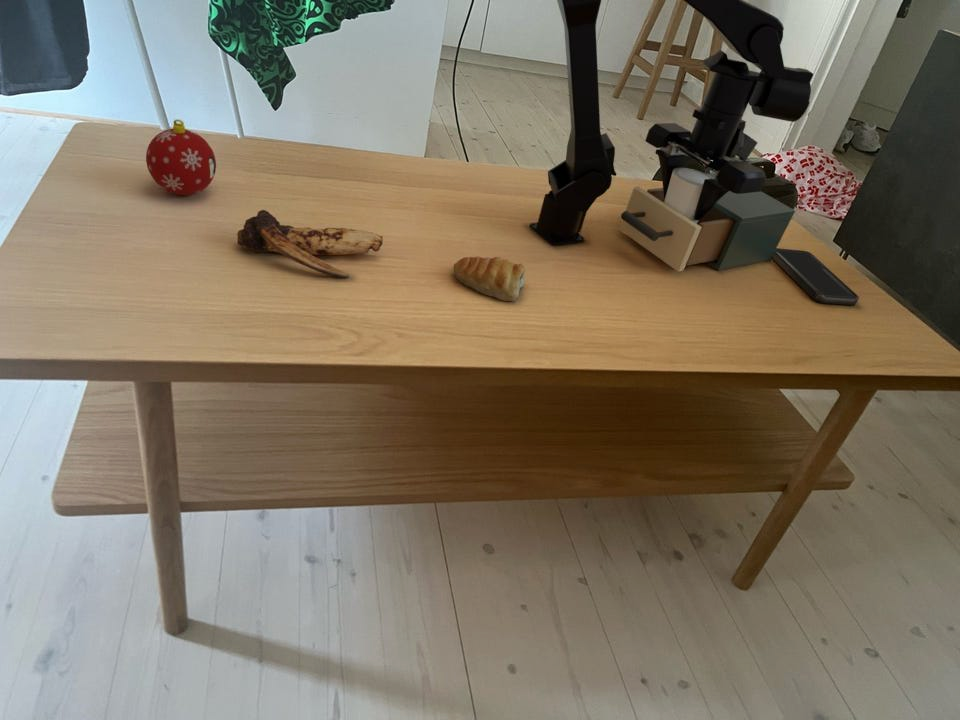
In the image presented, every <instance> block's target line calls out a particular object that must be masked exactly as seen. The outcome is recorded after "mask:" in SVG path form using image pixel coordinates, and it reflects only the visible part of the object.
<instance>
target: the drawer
mask: <svg viewBox="0 0 960 720" xmlns="http://www.w3.org/2000/svg"><path fill="white" fill-rule="evenodd" d="M664 201H665V200H664V192H663V187H656V188H648V189H647V190H645V189H644V188H642V187H641V186H635V187H633V188H632V191H631V194H630V197H629V199H628V203H627V207H626V209H625V210H624V211H623V212H622V213H621V214H620V219H621V222H620V226H619V230H620V231H621V232H622V233H623V234H625V235H627V236H628V237H629V238H631V239H632V240H633V241H635V242H636V243H637V244H639V245H640V246H642V247H643V248H645V249H646V250H647V251H648V252H650V253H651V254H653V255H654V256H655V257H657V258H658V259H660V260H661V261H662V262H664V263H665V264H667V265H668V266H669V267H671V268H672V269H673V270H675V271H676V272H677V273H679V272H683V271H684V270H685V268H686V266H691V265H697V264H703V263H706V262H707V261H713V260H718V259H719V257H720V255H721V253H722V251H723V248H724V246H725V244H726V242H727V240H728V238H729V235H730V233H731V231H732V229H733V227H734V224H735V222H736V220H734V219H733V218H731V217H730V216H728V215H726V214H725V213H723V212H721V211H720V210H718V209H717V208H715V207H712V208H711V209H710V210H709V211H708V212H707V213H706V214H705V215H704V216H703V217H702V219H701V220H698V222H697V224H696V223H694V222H693V221H691V220H690V219H688V218H687V217H685V216H683V215H682V214H680V213H679V212H677V211H676V210H674V209H673V208H671V207H670V206H668V205H666V204H665V203H664Z"/></svg>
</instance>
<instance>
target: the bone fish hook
mask: <svg viewBox="0 0 960 720" xmlns="http://www.w3.org/2000/svg"><path fill="white" fill-rule="evenodd" d="M236 237H237V238H236V239H237V245H239V246H241V247H245V248H247V249H250V250H251V251H253V252H254V253H255V254H256V253H270V252H274V253H277V254H282V255H283V256H285V257H286V258H288V259H289V260H292V261H294V262H295V263H297V264H299V265H302V266H304V267H306V268H309V269H311V270H313V271H315V272H318V273H321V274H323V275H326V276H330V277H333V278H339V279H348V278H350V274H349V273H348V272H347V273H346V272H345V271H342V270H340V269H338V268H336V267H335V266H332V265H331V264H329V263H327V262H325V261H323V260H321V259H320V258H317V257H316V256H315V255H317V256H341V255H342V256H343V255H353V254H367V253H369V251H370V250H372V251H373V252H376V253H377V252H379V251H380V250H381V247H382V245H383V242H384V241H383V240H384V239H383V236H382V235H380V234H379V233H375V232H372V231H368V230H362V229H352V228H345V227H326V228H312V227H294V226H293V225H290V224H289V225H288V224H287V225H283V224H281V223H280V221H279V220H277V218H276V217H275V216H274V215H273V214H271V213H270V212H269V211H268V210H266V209H261V210H259V211H257V214H256V216H252V217H249V218H248V219H246V220H245V222H244V225H243V228H242V229H240V230H238V231H237V233H236Z"/></svg>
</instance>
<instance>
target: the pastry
mask: <svg viewBox="0 0 960 720" xmlns="http://www.w3.org/2000/svg"><path fill="white" fill-rule="evenodd" d="M452 268H453V274H454V276H455V278H456V279H457V280H458V281H459V282H460V283H461V284H464V286H466V287H470V288H472V290H473V291H476V292H478V293H481V294H483V295H485V296H486V295H487V296H488V297H494V298H497V299H498V300H500V301H505V302H514V301H515V300H516V299H518V297H519V293H520V289H521V288H522V287H523V286H524V283H525V279H526V278H525V274H526V273H525V272H526V267H525V265H524V264H523V263H522V262H521V263H516V262H513V261H510V260H508V259H504V258H502V257H501V256H494V257H488V256H487V257H481V256H479V255H478V256H469V257H468V256H467V257H466V256H465V257H462V258H460V259H459V260H457V261H456V262H454V264H453V266H452Z"/></svg>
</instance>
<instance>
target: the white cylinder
mask: <svg viewBox="0 0 960 720" xmlns="http://www.w3.org/2000/svg"><path fill="white" fill-rule="evenodd" d="M707 174H708V173H705V172H703V171H700V170H697V169H694V168H689V167H685V168H675V169H674V170H673V172H672V176H671V179H670V183H669V187H668V190H667V194H666V197H665V201H664V203H665V204H666V205H668V206H670V207H671V208H673V209H674V210H676V211H677V212H679V213H680V214H682V215H683V216H685V217H687V218H688V219H690V220H691V221H693V222H694V223H696V224H697V222H698V220H697V221H696V220H694V216H695V211H696V207H697V204H698V200H699V197H700V194H701V190H702V187H703V184H704V180H705V179H714V178H712V177H711V176H709V175H707Z"/></svg>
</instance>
